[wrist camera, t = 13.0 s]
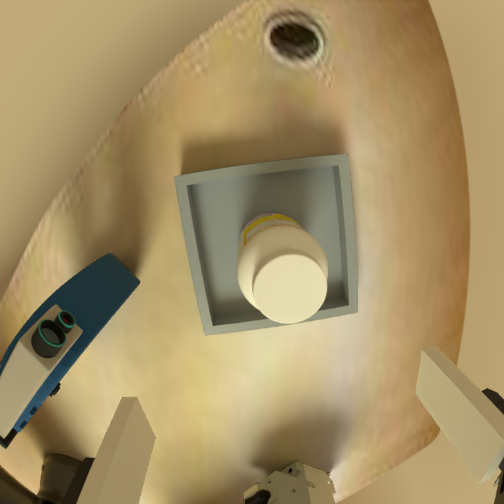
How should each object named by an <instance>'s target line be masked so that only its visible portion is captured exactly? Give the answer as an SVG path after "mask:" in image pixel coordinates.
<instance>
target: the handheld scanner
mask: <svg viewBox="0 0 504 504" xmlns="http://www.w3.org/2000/svg"><path fill="white" fill-rule="evenodd" d="M139 284H140V280H139V279H138V278H137V277H136V276H134V275H133V274H132V273H131V272H130V271H129V270H128V269H127V268H126V267H125V266H124V265H123V264H122V263H121V262H120V261H119V260H118V259H117V258H116V257H115V256H114V255H113V254H111V253H109V254H106V255H105V256H103V257H101V258H99V259H98V260H96V261H95V262H93V263H92V264H90V265H89V266H87V267H86V268H84V269H83V270H82V271H80V272H79V273H78V274H76V275H75V276H73V277H72V278H71V279H70V280H68V281H67V282H66V283H65V284H63V285H62V286H61V287H60V288H59V289H57V290H56V291H55V292H54V293H53V294H52V295H51V296H50V297H49V298H48V299H47V300H46V301H45V302H44V303H43V304H42V305H41V306H40V307H39V308H38V309H37V310H36V311H35V312H34V313H33V314H32V316H31V317H30V318H29V319H28V320H27V322H26V323H25V324H24V325H23V327H22V328H21V329H20V331H19V332H18V334H17V335H16V336H15V338H14V339H13V341H12V342H11V344H10V345H9V347H8V349H7V351H6V352H5V354H4V356H3V358H2V360H1V363H0V365H1V367H0V445H1V446H2V447H4V448H5V449H7V447H8V446H9V444H10V443H11V441H12V440H13V439H14V437H15V436H16V434H17V433H18V432H20V431H21V430H22V429H23V428H24V427H25V425H26V424H27V423H28V421H29V420H30V419H31V418H32V416H33V415H34V414H35V412H36V411H37V410H38V408H39V407H40V406H41V405H42V403H43V402H44V401H45V399H46V398H47V397H48V396H50V397H52V395H55V394H56V393H57V392H58V390H59V389H60V387H59V386H60V385H61V384H60V383H59V382H60V380H61V379H62V378H63V377H64V375H65V374H66V373H67V372H68V370H69V369H70V368H71V367H72V365H73V364H74V363H75V362H76V360H77V359H78V358H79V357H80V355H81V354H82V353H83V352H84V350H85V349H86V348H87V347H88V346H89V344H90V343H91V342H92V341H93V339H94V338H95V337H96V336H97V334H98V333H99V332H100V331H101V330H102V328H103V327H104V326H105V325H106V324H107V322H108V321H109V320H110V319H111V317H112V316H113V315H114V314H115V313H116V311H117V310H118V309H119V308H120V307H121V305H122V304H123V303H124V302H125V301H126V300H127V298H128V297H129V296H130V295H131V294H132V292H133V291H134V290H135V289H136V288H137V286H138V285H139Z"/></svg>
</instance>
